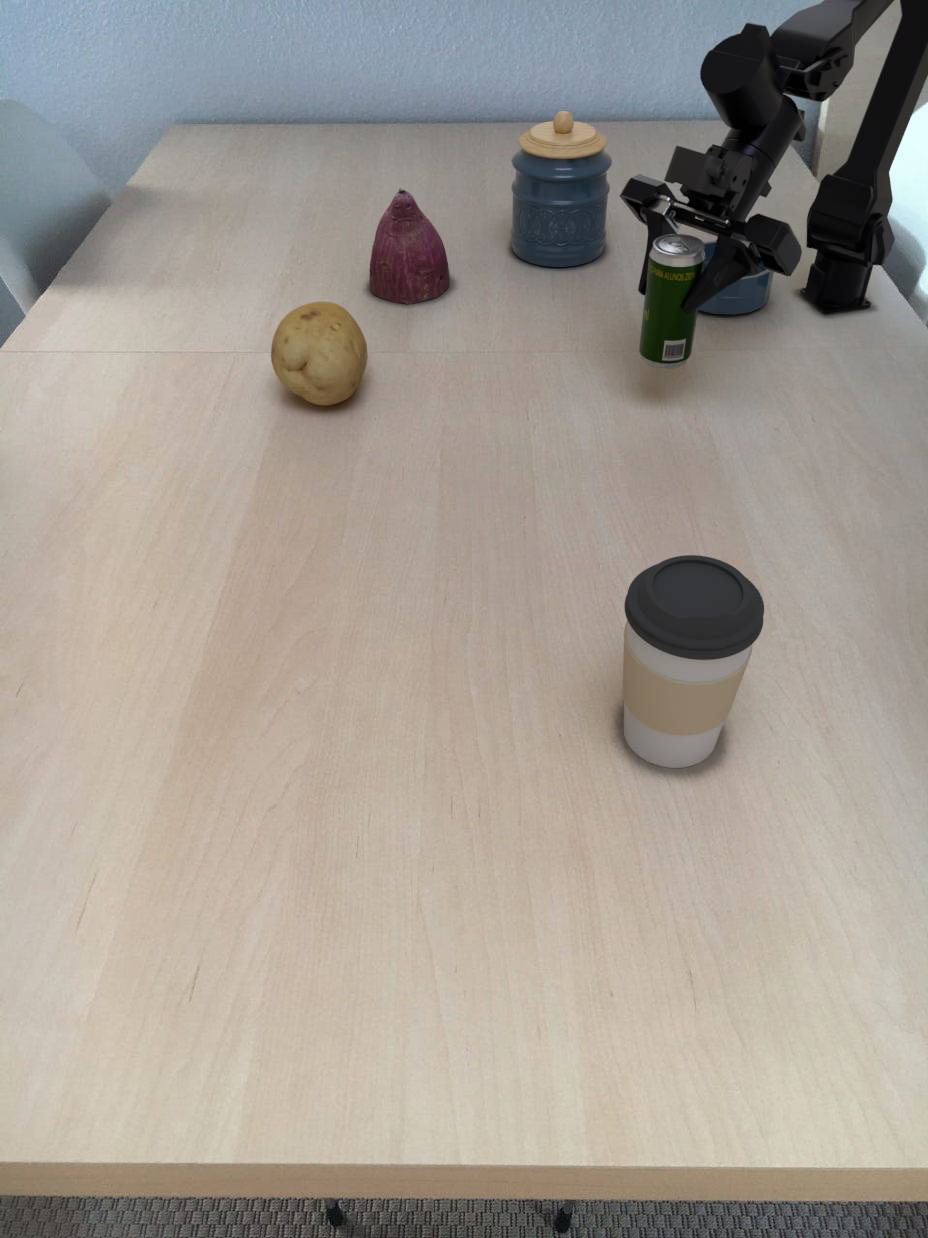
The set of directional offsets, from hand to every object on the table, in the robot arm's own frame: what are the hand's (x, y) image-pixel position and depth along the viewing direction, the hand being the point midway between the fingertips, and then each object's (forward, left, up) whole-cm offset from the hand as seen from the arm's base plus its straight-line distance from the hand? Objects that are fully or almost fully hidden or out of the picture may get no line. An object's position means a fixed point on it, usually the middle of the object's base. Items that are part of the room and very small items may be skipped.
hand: (662, 302), depth 98 cm
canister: (-4, -42, -12) cm, 44 cm away
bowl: (-19, -22, -12) cm, 31 cm away
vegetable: (+18, -37, -12) cm, 43 cm away
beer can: (-1, -1, -7) cm, 7 cm away
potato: (+33, -14, -12) cm, 38 cm away
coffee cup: (+16, +42, -12) cm, 47 cm away
